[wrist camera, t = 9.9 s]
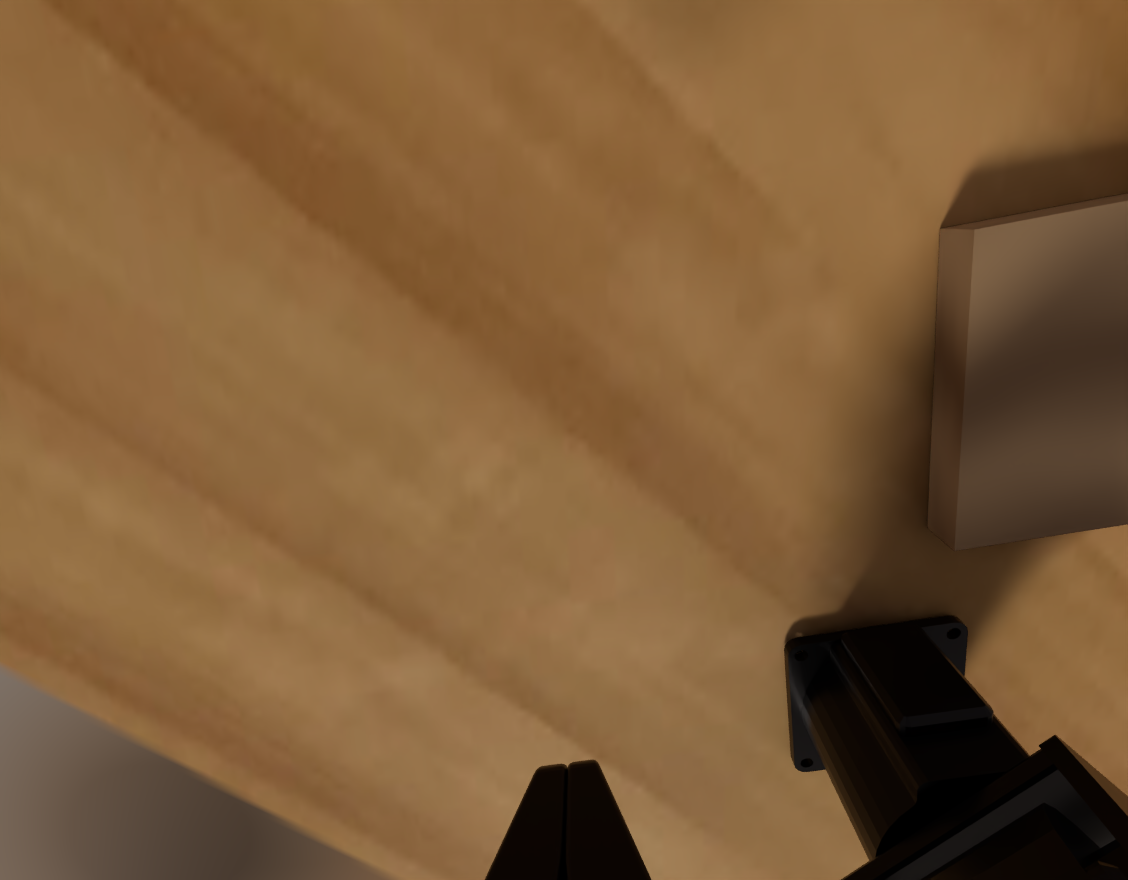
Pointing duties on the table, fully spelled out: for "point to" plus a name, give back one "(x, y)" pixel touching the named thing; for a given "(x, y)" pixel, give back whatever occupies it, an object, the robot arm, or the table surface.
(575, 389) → the table surface
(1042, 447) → the board
